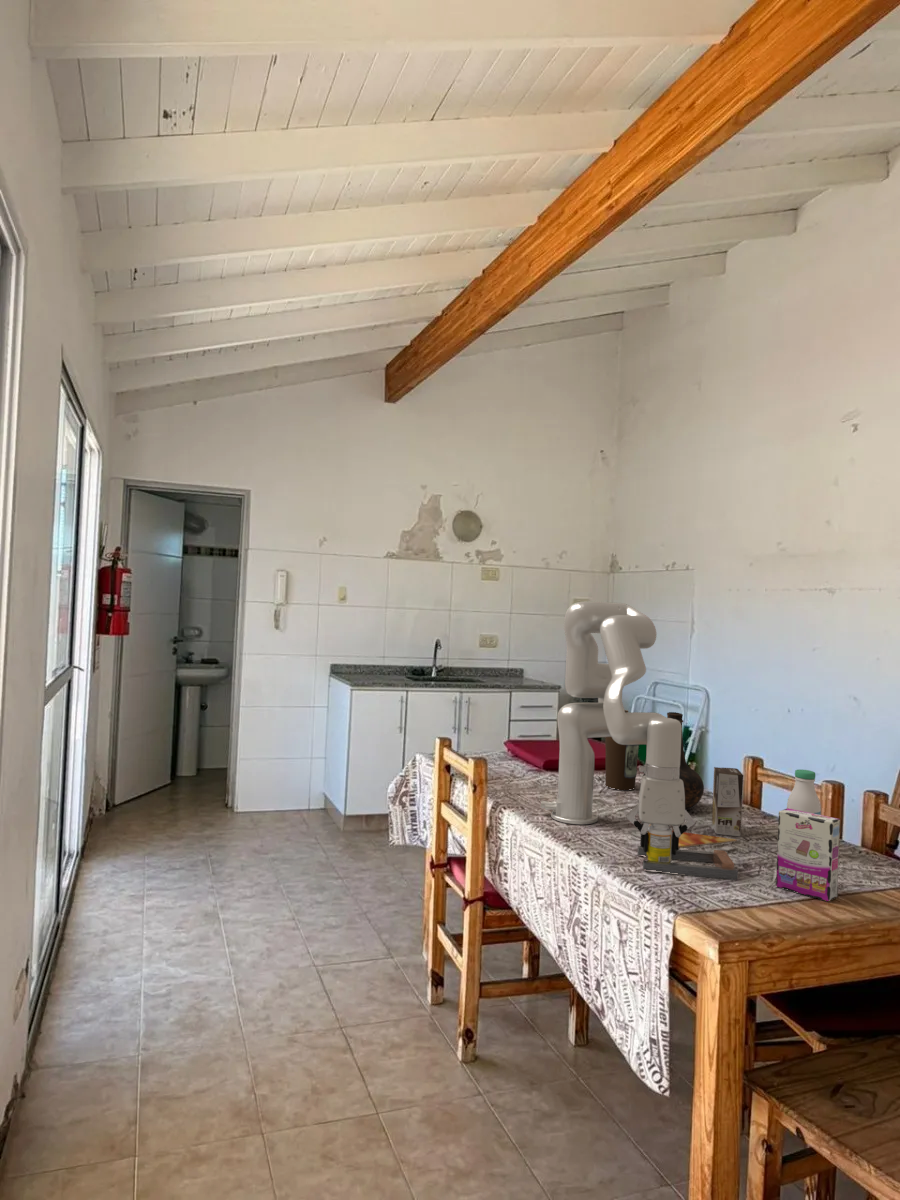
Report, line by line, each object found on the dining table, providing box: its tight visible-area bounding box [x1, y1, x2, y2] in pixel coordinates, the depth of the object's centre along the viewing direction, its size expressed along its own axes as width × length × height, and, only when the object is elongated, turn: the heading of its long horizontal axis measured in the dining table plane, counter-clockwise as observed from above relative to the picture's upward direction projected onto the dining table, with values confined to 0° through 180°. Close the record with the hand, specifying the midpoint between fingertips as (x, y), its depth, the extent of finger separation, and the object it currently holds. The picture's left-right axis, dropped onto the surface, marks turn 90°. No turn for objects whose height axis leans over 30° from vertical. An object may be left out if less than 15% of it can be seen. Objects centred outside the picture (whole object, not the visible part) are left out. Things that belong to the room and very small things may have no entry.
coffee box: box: [711, 766, 745, 837], centre depth 207 cm, size 9×6×16 cm
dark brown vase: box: [640, 711, 705, 811], centre depth 229 cm, size 18×18×28 cm
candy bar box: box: [775, 807, 841, 902], centre depth 164 cm, size 11×5×16 cm, turn 45°
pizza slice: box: [649, 824, 738, 849], centre depth 195 cm, size 16×22×2 cm
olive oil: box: [604, 709, 640, 791], centre depth 252 cm, size 11×11×25 cm
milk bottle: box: [786, 769, 822, 815], centre depth 191 cm, size 8×8×20 cm
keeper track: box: [637, 845, 739, 880], centre depth 177 cm, size 20×12×3 cm, turn 83°
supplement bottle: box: [645, 824, 673, 863], centre depth 177 cm, size 6×6×10 cm
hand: (659, 850), depth 177 cm, fingers closed on supplement bottle, 5 cm apart
